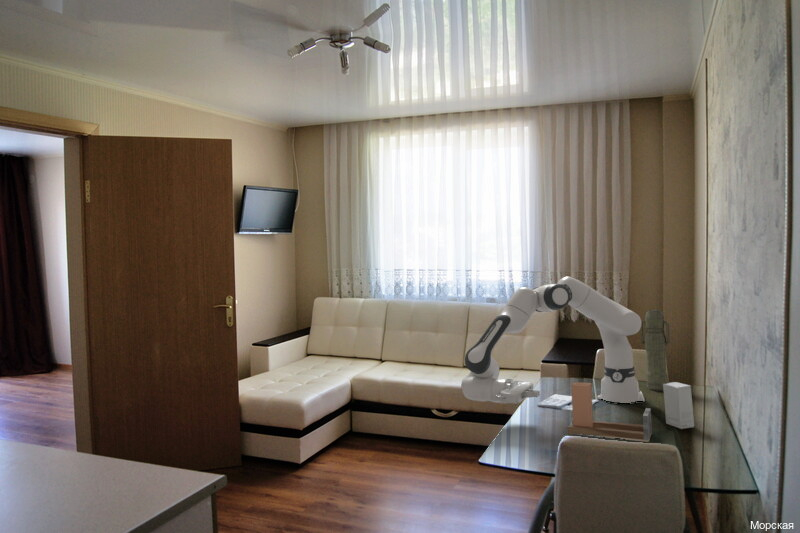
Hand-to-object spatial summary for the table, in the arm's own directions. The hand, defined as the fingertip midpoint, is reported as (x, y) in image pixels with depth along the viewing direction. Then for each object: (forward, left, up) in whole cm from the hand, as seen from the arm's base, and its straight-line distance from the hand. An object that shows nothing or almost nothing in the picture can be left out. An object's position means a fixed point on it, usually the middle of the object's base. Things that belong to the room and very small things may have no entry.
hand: (538, 394), depth 219 cm
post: (0, +15, -12) cm, 20 cm away
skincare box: (-17, +45, -13) cm, 50 cm away
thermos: (-72, +34, -13) cm, 81 cm away
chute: (0, +23, -12) cm, 27 cm away
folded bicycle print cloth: (-35, +2, -13) cm, 38 cm away
